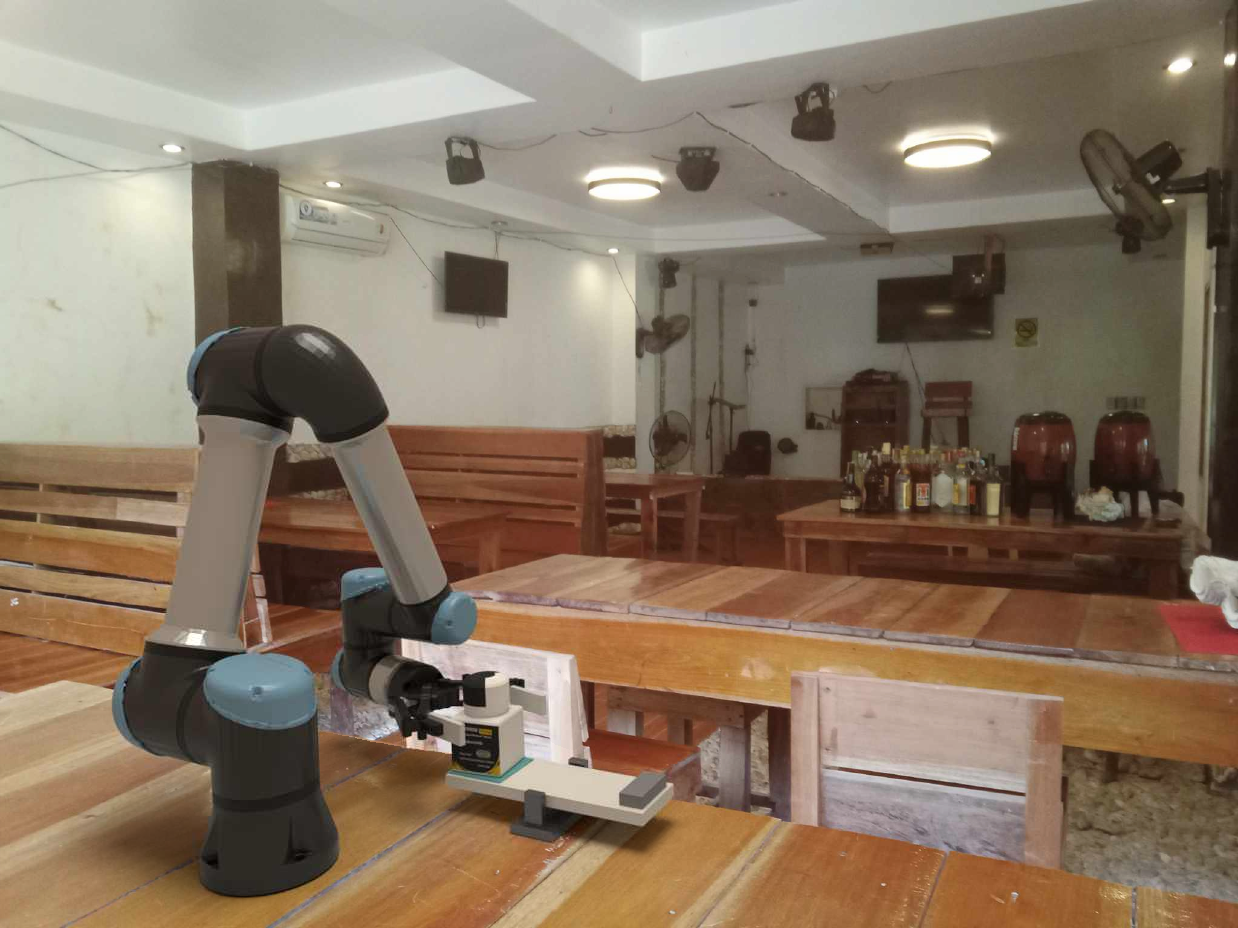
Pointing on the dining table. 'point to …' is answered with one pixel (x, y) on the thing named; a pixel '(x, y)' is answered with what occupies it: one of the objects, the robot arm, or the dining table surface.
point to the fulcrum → (545, 814)
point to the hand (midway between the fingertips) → (505, 719)
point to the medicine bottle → (489, 726)
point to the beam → (576, 789)
